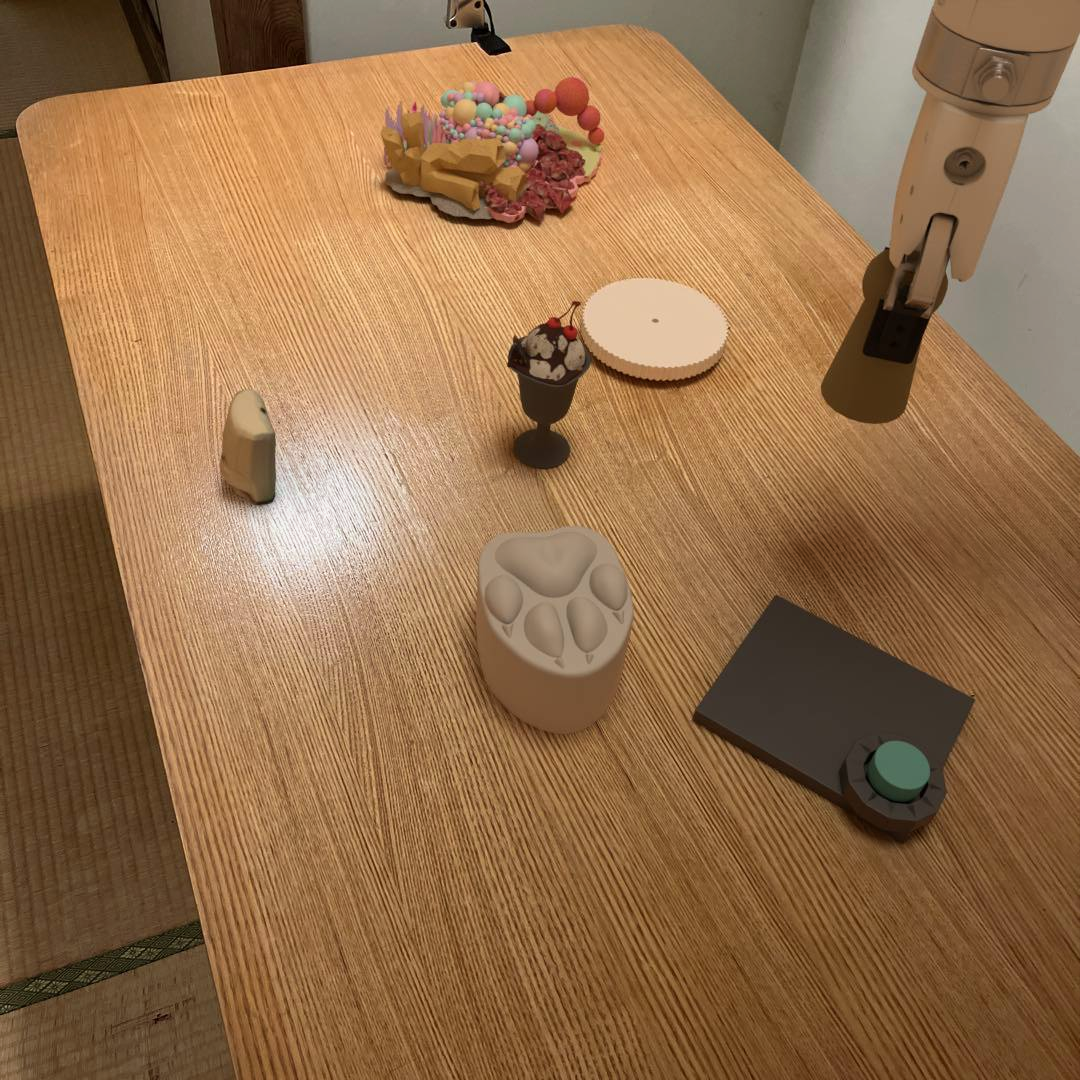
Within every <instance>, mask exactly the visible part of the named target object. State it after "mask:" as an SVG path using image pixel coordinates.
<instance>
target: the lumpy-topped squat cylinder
mask: <svg viewBox="0 0 1080 1080" xmlns="http://www.w3.org/2000/svg"><path fill="white" fill-rule="evenodd" d="M476 576H477V577H476V607H475V608H476V609H475V610H476V612H475V613H476V614H475V617H476V618H475V633H476V646H477V647H476V648H477V653H478V658H479V663H480V667H481V671H482V673H483V674H482V675H483V677H484V680H485V683H486V685H487V687H488V689H489V690H490V692H491V693H492V695H494V697H495V698H496V699H497V700H498V702H500V703H501V704H502V705H503V706H504V707H505V708H506V709H507V710H508V711H509V712H510V713H511V714H513V715H514V716H515V717H516V718H517V719H519V720H521V722H524V723H525V724H527V725H530V726H532V727H534V728H536V729H538V730H540V731H543V732H547V733H550V734H555V735H567V734H568V735H569V734H574V733H578V732H581V731H583V730H585V729H587V728H589V727H591V726H592V725H593V724H594V723H596V722H597V721H598V720H599V719H600V718H601V717H602V716H603V715H604V714H605V713H606V712H607V710H609V708H610V707H611V705H612V703H613V701H614V698H615V696H616V694H617V692H618V688H619V686H620V684H621V678H622V676H623V672H624V667H625V662H626V656H627V653H628V652H627V651H628V648H629V643H630V639H631V638H630V637H631V633H632V629H633V624H634V617H635V607H634V601H633V597H632V591H631V587H630V584H629V581H628V577H627V575H626V572H625V570H624V568H623V566H622V564H621V561H620V558H619V556H618V554H617V552H616V550H615V548H614V547H613V545H612V543H611V542H610V540H609V539H608V538H606V537H605V536H604V535H603V534H601V533H599V532H597V530H594V529H592V528H589V527H586V526H582V525H566V526H561V527H557V528H553V529H549V530H543V531H508V532H503V533H502V532H501V533H499V534H496V535H495V536H493V537H492V538H490V540H488V541H487V542H486V544H485V545H484V546H483V548H482V549H481V551H480V554H479V556H478V560H477V575H476Z"/></svg>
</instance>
